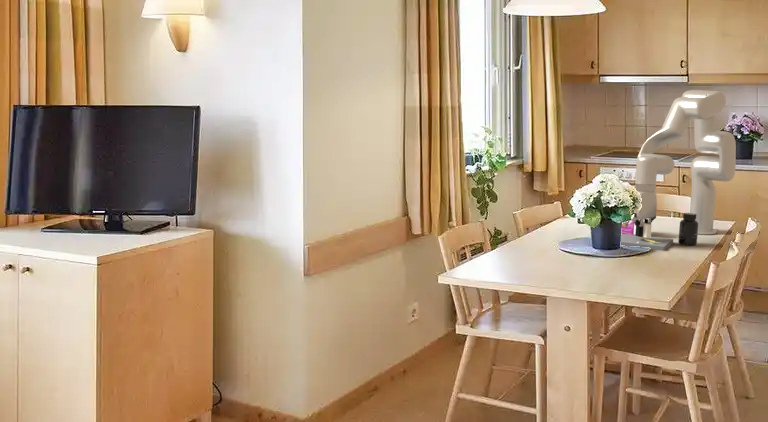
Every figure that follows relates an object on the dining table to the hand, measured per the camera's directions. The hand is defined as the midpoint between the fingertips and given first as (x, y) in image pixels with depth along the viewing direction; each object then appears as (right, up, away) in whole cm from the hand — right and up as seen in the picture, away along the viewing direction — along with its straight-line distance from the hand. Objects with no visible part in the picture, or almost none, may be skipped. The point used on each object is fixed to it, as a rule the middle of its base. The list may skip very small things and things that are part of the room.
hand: (642, 235), depth 343 cm
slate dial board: (0, -3, +1) cm, 3 cm away
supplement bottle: (+18, -4, +1) cm, 18 cm away
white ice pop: (+1, -2, -2) cm, 3 cm away
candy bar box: (0, 0, +20) cm, 20 cm away
